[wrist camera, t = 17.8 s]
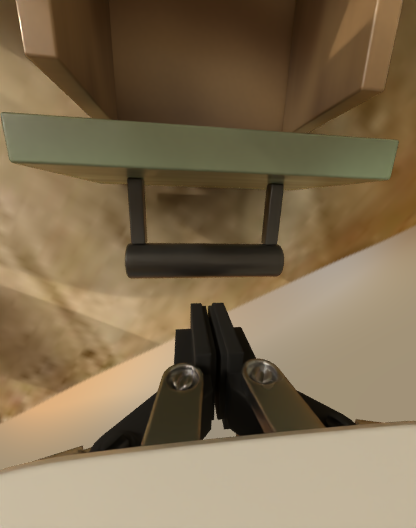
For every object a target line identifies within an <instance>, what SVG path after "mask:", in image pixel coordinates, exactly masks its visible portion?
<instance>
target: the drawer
mask: <svg viewBox="0 0 416 528" xmlns="http://www.w3.org/2000/svg"><path fill="white" fill-rule="evenodd" d="M402 4H403V0H16V6H17V12H18V18H19V24H20V30H21V36H22V42H23V48H24V53H25V55H26V57H27V58H29V59H30V60H31V61H32V62H33V63H34V64H35V65H36V66H37V67H38V68H39V69H40V70H41V71H42V72H43V73H44V74H46V75H47V76H48V77H49V78H50V79H51V80H52V81H53V82H54V83H55V84H56V85H57V86H58V87H59V88H60V89H62V90H63V91H64V92H65V93H66V94H67V95H68V96H69V97H70V98H71V99H72V100H73V101H74V102H75V103H76V104H77V105H79V106H80V107H81V108H82V109H83V110H84V111H85V112H86V113H87V114H88V115H89V116H90V117H91V118H81V117H67V116H53V115H38V114H24V113H10V112H2V113H1V114H0V116H1V121H2V126H3V131H4V136H5V141H6V145H7V150H8V155H9V160H10V161H11V162H12V163H15V164H19V165H24V166H28V167H32V168H36V169H41V170H45V171H49V172H54V173H58V174H62V175H67V176H71V177H75V178H80V179H84V180H88V181H92V182H97V183H101V184H127V186H128V201H129V215H130V230H131V243H129V244H128V245H127V248H126V253H125V267H126V273H127V276H128V277H129V278H131V279H132V278H207V277H277V276H279V275H280V274H281V272H282V270H283V266H284V254H283V250H282V248H281V246H280V245H278V244H277V241H278V232H279V223H280V215H281V206H282V197H283V190H300V189H309V188H319V187H328V186H337V185H347V184H356V183H365V182H375V181H384V180H388V179H390V177H391V173H392V169H393V164H394V160H395V156H396V152H397V148H398V143H399V141H398V140H391V139H377V138H363V137H349V136H335V135H320V134H306V133H308V132H310V131H312V130H314V129H316V128H317V127H319V126H321V125H323V124H325V123H327V122H328V121H330V120H332V119H334V118H336V117H337V116H339V115H341V114H343V113H345V112H347V111H348V110H350V109H352V108H354V107H356V106H358V105H359V104H361V103H363V102H365V101H367V100H368V99H370V98H372V97H374V96H376V95H378V94H379V93H381V92H383V91H384V89H385V85H386V80H387V75H388V70H389V66H390V61H391V56H392V51H393V47H394V42H395V37H396V32H397V28H398V23H399V18H400V13H401V8H402ZM144 185H155V186H182V187H210V188H237V189H264V190H266V199H265V209H264V220H263V230H262V241H261V242H262V243H263V244H206V243H146V242H147V227H146V206H145V186H144Z"/></svg>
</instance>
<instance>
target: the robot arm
mask: <svg viewBox="0 0 416 528" xmlns="http://www.w3.org/2000/svg"><path fill="white" fill-rule="evenodd" d="M214 405H215V408H216V414H217V419H218V420H220V419H222V421H223V426H224V429H231V430H232V431H234V432H235V433H236V437H226V438H216V439H207V440H203V439H204V437H205V436H206V435H207V433H208V432H209V431H210V430H211V420H214ZM0 528H416V421H401V422H387V423H381V422H373V421H366V420H358V419H356V421H355V423H354V422H353V421H352V420H350V419H349V418H347V417H346V416H344V415H343V414H341V413H339V412H337V411H335V410H333V409H331V408H329V407H328V406H326V405H324V404H322V403H320V402H318V401H316V400H314V399H312V398H310V397H308V396H306V395H304V394H303V393H301V392H299V391H297V390H295V388H294V387H293V386H292V384H291V383H290V382H289V381H288V379H287V378H286V377H285V376H284V374H283V373H282V372H281V371H280V369H279V368H278V367H277V366H276V365H275V364H273V363H271V362H270V361H267V360H264V359H256V357H255V355H254V353H253V351H252V349H251V347H250V345H249V343H248V341H247V339H246V337H245V334H244V332H243V330H242V328H241V327H233V325H232V323H231V320H230V318H229V316H228V313H227V311H226V308H225V306H224V303H212V306H208V314H207V310H206V306H202V304H201V303H193V304H191V328H190V329H178V330H176V336H175V357H174V365H173V366H171V367H169V368H168V369H167V370H166V371H165V372H164V374H163V376H162V379H161V382H160V385H159V389H158V392H156V393H155V394H154V395H153V396H151V397H150V398H149V399H148V400H146V401H145V402H144V403H143V404H141V405H140V406H139V407H138V408H136V409H135V410H134V411H133V412H131V413H130V414H129V415H128V416H126V417H125V418H124V419H123V420H121V421H120V422H119V423H118V424H116V425H115V426H114V427H113V428H111V429H110V430H109V431H108V432H106V433H105V434H104V435H103V436H101V438H99V439H98V440H97V441H96V442H95V443H94V445H93V447H91V448H88V449H85V450H83V446H80V447H77V448H73V449H70V450H67V451H64V452H61V453H57V454H54V455H51V456H48V457H45V458H42V459H38V460H35V461H32V462H28V463H24V464H20V465H16V466H11V467H8V468H5V469H2V470H0Z"/></svg>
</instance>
